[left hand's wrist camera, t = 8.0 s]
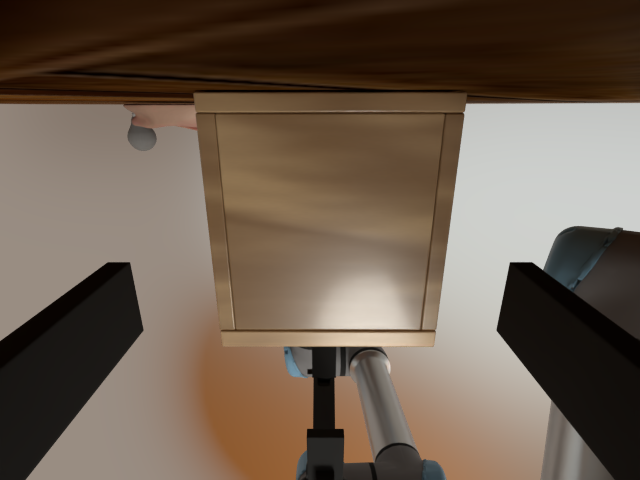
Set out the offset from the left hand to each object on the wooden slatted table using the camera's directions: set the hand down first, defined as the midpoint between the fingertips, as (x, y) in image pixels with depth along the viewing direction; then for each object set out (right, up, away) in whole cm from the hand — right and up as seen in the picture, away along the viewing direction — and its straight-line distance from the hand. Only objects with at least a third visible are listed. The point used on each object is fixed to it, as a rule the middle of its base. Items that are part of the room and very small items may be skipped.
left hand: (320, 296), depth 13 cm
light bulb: (-41, +33, +68) cm, 86 cm away
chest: (0, +10, +7) cm, 12 cm away
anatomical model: (-20, +20, +35) cm, 45 cm away
